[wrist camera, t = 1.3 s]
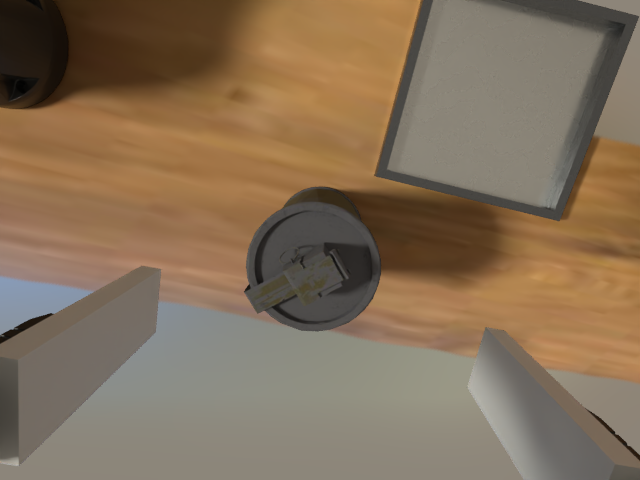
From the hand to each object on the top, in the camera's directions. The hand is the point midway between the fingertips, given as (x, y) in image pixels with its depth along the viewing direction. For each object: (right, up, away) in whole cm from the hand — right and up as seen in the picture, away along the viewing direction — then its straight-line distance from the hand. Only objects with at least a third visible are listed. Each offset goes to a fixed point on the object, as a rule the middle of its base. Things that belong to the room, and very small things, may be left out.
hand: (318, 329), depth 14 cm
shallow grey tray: (+20, +19, +26) cm, 38 cm away
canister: (0, +5, +30) cm, 31 cm away
